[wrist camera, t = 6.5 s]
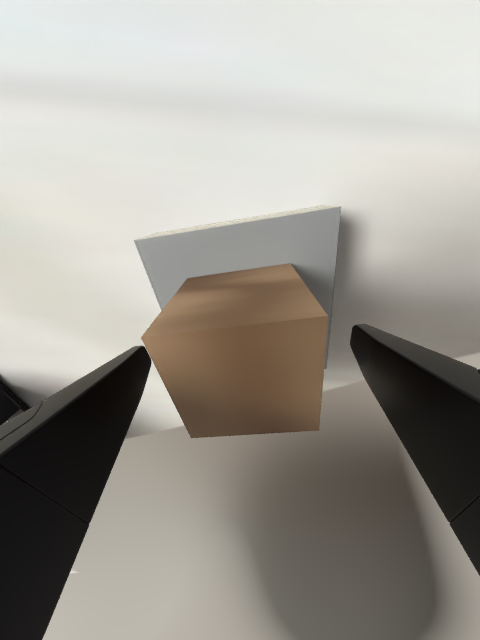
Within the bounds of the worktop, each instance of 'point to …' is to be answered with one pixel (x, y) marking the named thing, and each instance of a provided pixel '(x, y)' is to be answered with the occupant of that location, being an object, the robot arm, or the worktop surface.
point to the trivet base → (248, 251)
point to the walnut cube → (242, 352)
